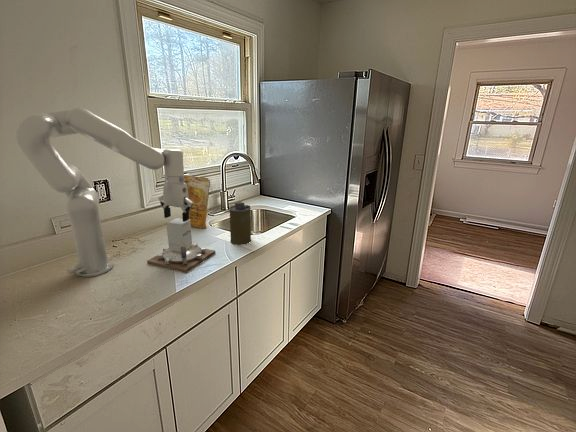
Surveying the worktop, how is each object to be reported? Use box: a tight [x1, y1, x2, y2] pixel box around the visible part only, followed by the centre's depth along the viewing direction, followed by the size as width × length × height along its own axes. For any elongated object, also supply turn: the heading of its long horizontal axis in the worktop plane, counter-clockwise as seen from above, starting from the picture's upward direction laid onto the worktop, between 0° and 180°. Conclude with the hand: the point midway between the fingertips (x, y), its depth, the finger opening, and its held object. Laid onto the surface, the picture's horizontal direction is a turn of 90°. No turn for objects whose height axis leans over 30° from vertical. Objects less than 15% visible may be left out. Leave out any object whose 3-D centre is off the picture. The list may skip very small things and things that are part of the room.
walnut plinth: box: [146, 248, 217, 274], centre depth 133 cm, size 20×20×4 cm
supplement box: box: [166, 217, 193, 251], centre depth 133 cm, size 7×7×13 cm
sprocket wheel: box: [157, 242, 206, 264], centre depth 132 cm, size 19×19×6 cm
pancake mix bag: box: [184, 174, 211, 229], centre depth 170 cm, size 7×19×28 cm, turn 64°
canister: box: [228, 201, 252, 246], centre depth 151 cm, size 11×10×20 cm
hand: (176, 218), depth 131 cm, fingers open, 9 cm apart
